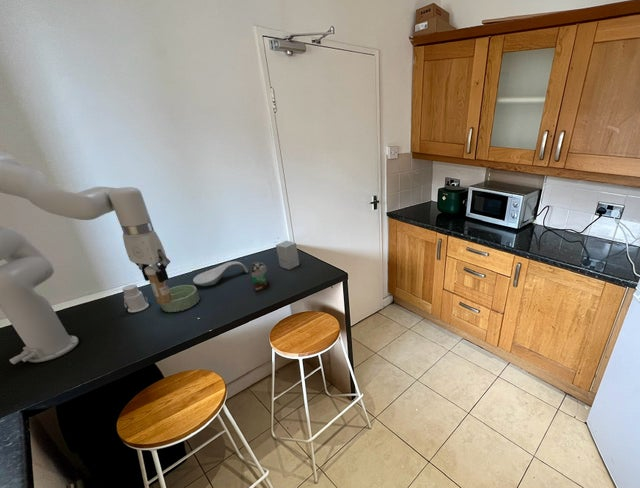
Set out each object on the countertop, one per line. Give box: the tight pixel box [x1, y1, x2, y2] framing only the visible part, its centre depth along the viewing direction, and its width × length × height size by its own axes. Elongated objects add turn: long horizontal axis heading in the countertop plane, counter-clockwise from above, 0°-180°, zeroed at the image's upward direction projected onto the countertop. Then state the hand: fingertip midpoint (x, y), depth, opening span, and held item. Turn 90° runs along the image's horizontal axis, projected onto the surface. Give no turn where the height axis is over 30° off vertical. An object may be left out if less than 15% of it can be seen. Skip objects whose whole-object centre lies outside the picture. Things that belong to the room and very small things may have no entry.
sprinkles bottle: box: [144, 264, 173, 306], centre depth 106 cm, size 5×5×14 cm
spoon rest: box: [192, 261, 249, 287], centre depth 151 cm, size 24×12×7 cm, turn 135°
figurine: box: [250, 261, 268, 292], centre depth 145 cm, size 12×6×10 cm, turn 22°
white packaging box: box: [275, 240, 300, 270], centre depth 164 cm, size 7×7×13 cm
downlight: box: [122, 284, 150, 313], centre depth 128 cm, size 8×7×10 cm
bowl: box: [159, 284, 201, 313], centre depth 132 cm, size 14×14×6 cm
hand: (157, 279), depth 105 cm, fingers closed on sprinkles bottle, 4 cm apart
